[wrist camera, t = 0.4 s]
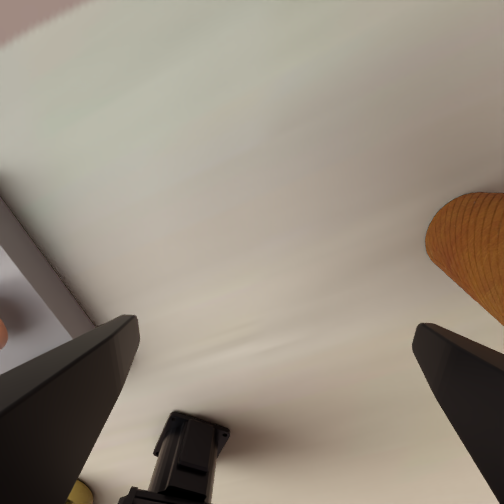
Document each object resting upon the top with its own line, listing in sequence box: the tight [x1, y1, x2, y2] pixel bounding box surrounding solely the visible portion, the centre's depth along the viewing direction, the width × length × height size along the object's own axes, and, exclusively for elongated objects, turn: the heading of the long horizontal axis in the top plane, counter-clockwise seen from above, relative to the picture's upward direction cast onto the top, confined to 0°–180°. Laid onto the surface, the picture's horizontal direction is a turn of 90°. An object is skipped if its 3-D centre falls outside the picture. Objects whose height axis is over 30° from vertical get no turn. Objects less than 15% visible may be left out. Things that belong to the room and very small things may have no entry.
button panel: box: [0, 197, 96, 375], centre depth 22 cm, size 19×9×2 cm, turn 23°
